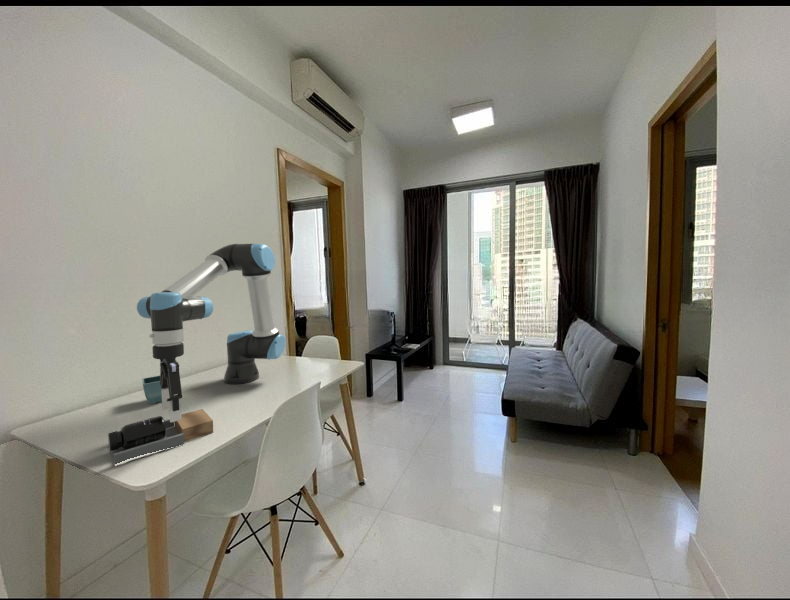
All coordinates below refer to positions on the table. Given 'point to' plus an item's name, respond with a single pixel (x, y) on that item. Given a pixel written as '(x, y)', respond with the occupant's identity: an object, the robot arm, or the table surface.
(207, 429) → the walnut ledge
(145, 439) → the supplement bottle
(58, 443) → the table surface
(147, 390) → the flower pot
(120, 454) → the grey tray
